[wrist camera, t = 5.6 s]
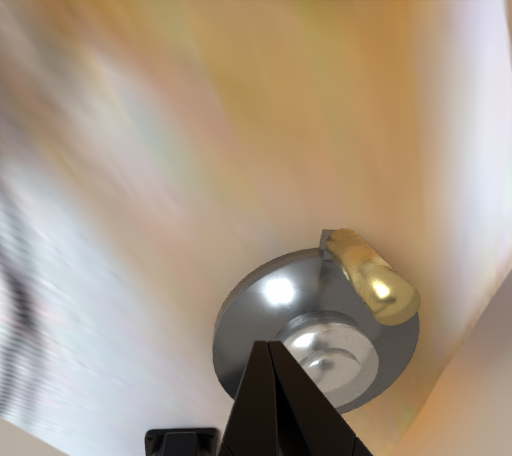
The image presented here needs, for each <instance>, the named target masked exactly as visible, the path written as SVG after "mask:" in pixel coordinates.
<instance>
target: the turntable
mask: <svg viewBox="0 0 512 456" xmlns="http://www.w3.org/2000/svg"><path fill="white" fill-rule="evenodd" d="M419 305H420V296H419V293H418V292H417V291H416V290H415V289H414V288H413V287H412V286H411V285H410V284H409V283H408V282H407V281H406V280H405V279H404V278H402V277H401V276H400V275H399V274H398V273H397V272H396V271H395V270H394V269H393V268H392V267H391V266H390V265H389V264H388V263H386V262H385V261H384V260H383V259H382V258H381V257H380V256H379V255H378V254H377V253H376V252H375V251H374V250H373V249H372V248H371V247H369V246H368V245H367V244H366V243H365V242H364V241H363V240H362V239H361V238H360V237H359V236H358V235H357V234H356V233H355V232H353V231H352V230H349V229H340V230H326V229H323V230H322V236H321V241H320V246H319V248H314V249H307V250H301V251H297V252H293V253H289V254H286V255H283V256H281V257H278V258H275V259H273V260H271V261H269V262H267V263H265V264H263V265H261V266H260V267H258V268H257V269H256V270H254V271H253V272H251V273H250V274H248V275H247V276H246V277H245V278H244V279H243V280H242V281H240V282H239V283H238V284H237V286H236V287H235V288H234V289H233V290H232V291H231V292H230V294H229V295H228V297H227V298H226V300H225V301H224V303H223V305H222V307H221V309H220V311H219V313H218V316H217V319H216V323H215V328H214V336H213V364H214V369H215V373H216V375H217V377H218V380H219V382H220V384H221V385H222V387H223V388H224V390H225V391H226V392H227V393H228V394H229V396H230V397H231V398H232V399H234V400H235V398H236V394H237V391H238V388H239V385H240V382H241V379H242V376H243V373H244V370H245V367H246V364H247V360H248V357H249V354H250V351H251V348H252V345H253V342H254V341H255V340H266V341H269V340H273V339H274V337H275V335H276V334H277V333H278V331H279V330H280V329H281V328H282V327H283V326H284V325H285V324H287V323H288V322H289V321H291V320H292V319H294V318H296V317H298V316H300V315H303V314H305V313H309V312H313V311H319V310H332V311H338V312H341V313H344V314H346V315H349V316H350V317H352V318H353V319H355V320H356V321H357V322H358V323H359V325H360V326H361V327H362V329H363V331H364V332H365V334H366V335H367V337H368V339H369V340H370V342H371V343H372V345H373V347H374V348H375V350H376V352H377V355H378V360H379V366H378V371H377V374H376V377H375V379H374V380H373V382H372V384H371V385H370V386H369V387H368V388H367V390H366V391H365V392H363V393H362V394H361V395H360V396H359V397H357V398H356V399H354V400H352V401H351V402H349V403H347V404H344V405H342V406H339V407H336V408H335V409H336V410H337V411H338V413H339V414H343V413H346V412H349V411H351V410H353V409H356V408H358V407H360V406H362V405H364V404H365V403H367V402H369V401H371V400H372V399H374V398H375V397H377V396H378V395H380V394H381V393H382V392H383V391H384V390H386V389H387V388H388V387H389V386H390V385H391V384H392V383H393V382H394V381H395V380H396V379H397V378H398V377H399V375H400V374H401V373H402V372H403V371H404V369H405V367H406V366H407V364H408V363H409V361H410V359H411V357H412V355H413V353H414V350H415V347H416V344H417V341H418V334H419V318H418V312H417V310H418V308H419Z"/></svg>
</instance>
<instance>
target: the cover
mask: <svg viewBox="0 0 512 456" xmlns="http://www.w3.org/2000/svg"><path fill="white" fill-rule="evenodd" d="M273 340H280V341H281V342H282V343H283V344H284V345H285V347H286V348H287V349H288V350H289V352H290V353H291V354H292V355H293V357H294V358H295V359H296V360H297V362H298V363H299V364H300V365H301V367H302V368H303V369H304V370H305V372H306V373H307V374H308V375H309V377H310V378H311V379H312V380H313V382H314V383H315V384H316V385H317V387H318V388H319V389H320V390H321V392H322V393H323V394H324V395H325V397H326V398H327V399H328V400H329V402H330V403H331V404H332V405H333V407H334V408H336V407H339V406H342V405H344V404H347V403H349V402H351V401H352V400H354V399H356V398H357V397H359V396H360V395H361V394H362V393H363V392H365V391H366V390H367V388H368V387H369V386H370V385H371V384H372V382H373V380H374V379H375V377H376V374H377V371H378V366H379V360H378V355H377V352H376V350H375V348H374V347H373V345H372V343H371V342H370V340H369V339H368V337H367V335H366V334H365V332H364V331H363V329H362V327H361V326H360V325H359V323H358V322H357V321H356V320H355V319H353V318H352V317H350V316H349V315H346V314H344V313H341V312H338V311H332V310H319V311H313V312H309V313H305V314H303V315H300V316H298V317H296V318H294V319H292V320H291V321H289V322H288V323H287V324H285V325H284V326H283V327H282V328H281V329H280V330H279V331H278V333H277V334H276V335H275V337H274V339H273Z"/></svg>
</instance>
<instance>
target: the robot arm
mask: <svg viewBox="0 0 512 456" xmlns="http://www.w3.org/2000/svg"><path fill="white" fill-rule="evenodd" d="M216 443H217V430H215V429H186V430H154V431H148V432H146V435H145V452H146V456H216ZM217 456H373V455H372V454H371V452H370V451H369V450H368V449H367V447H366V446H365V445H364V444H363V442H362V441H361V440H360V439H359V438H358V437H356V434H355V433H354V431H353V430H352V429H351V428H350V426H349V425H348V424H347V423H346V421H345V420H344V419H343V418H342V416H341V415H340V414H339V413H338V411H337V410H336V409H335V408H334V407H333V405H332V404H331V403H330V402H329V400H328V399H327V398H326V397H325V395H324V394H323V393H322V392H321V390H320V389H319V388H318V387H317V385H316V384H315V383H314V382H313V380H312V379H311V378H310V377H309V375H308V374H307V373H306V372H305V370H304V369H303V368H302V367H301V365H300V364H299V363H298V362H297V360H296V359H295V358H294V357H293V355H292V354H291V353H290V352H289V350H288V349H287V348H286V347H285V345H284V344H283V343H282V342H281V341H280V340H269V341H266V340H255V341H254V342H253V345H252V348H251V351H250V354H249V357H248V360H247V364H246V367H245V370H244V373H243V376H242V379H241V382H240V385H239V388H238V391H237V394H236V398H235V401H234V404H233V407H232V410H231V413H230V416H229V419H228V422H227V425H226V429H225V432H224V435H223V438H222V442H221V443H220V446H219V450H218V453H217Z"/></svg>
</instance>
